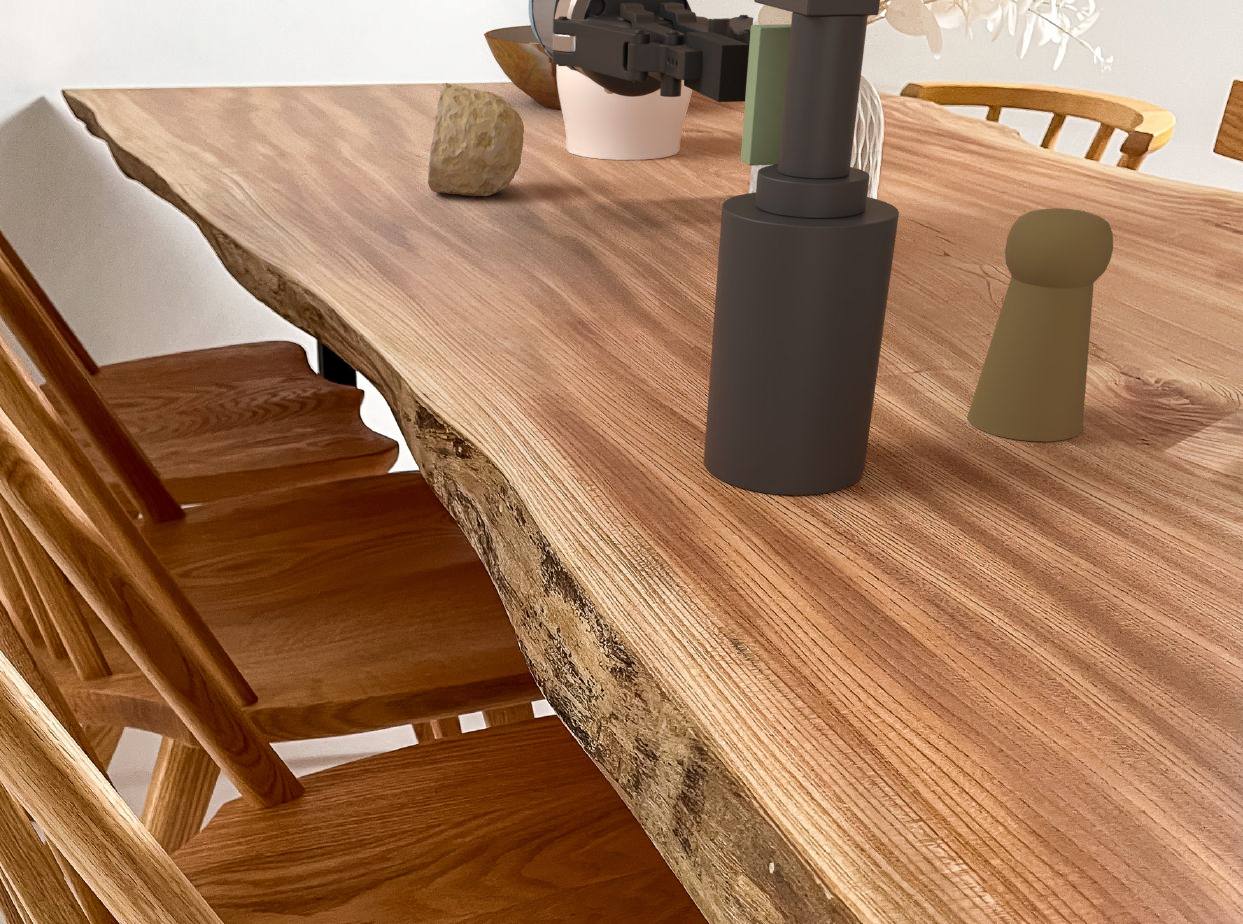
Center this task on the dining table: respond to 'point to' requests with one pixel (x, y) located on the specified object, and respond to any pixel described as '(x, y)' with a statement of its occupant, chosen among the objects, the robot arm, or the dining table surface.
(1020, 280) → the cork
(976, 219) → the dining table surface
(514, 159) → the tan rough stone lump
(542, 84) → the bowl
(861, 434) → the spray bottle
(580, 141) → the vase
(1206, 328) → the dining table surface
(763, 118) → the sage green tall block
